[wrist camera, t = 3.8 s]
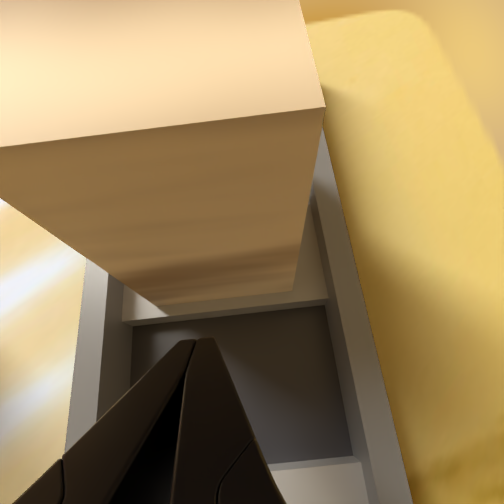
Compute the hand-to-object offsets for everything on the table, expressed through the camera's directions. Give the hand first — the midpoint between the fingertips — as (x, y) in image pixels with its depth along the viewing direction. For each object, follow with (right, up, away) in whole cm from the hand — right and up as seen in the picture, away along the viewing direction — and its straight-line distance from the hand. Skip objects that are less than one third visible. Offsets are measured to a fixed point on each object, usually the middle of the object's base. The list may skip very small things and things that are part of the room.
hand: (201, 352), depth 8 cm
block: (0, +3, +8) cm, 8 cm away
